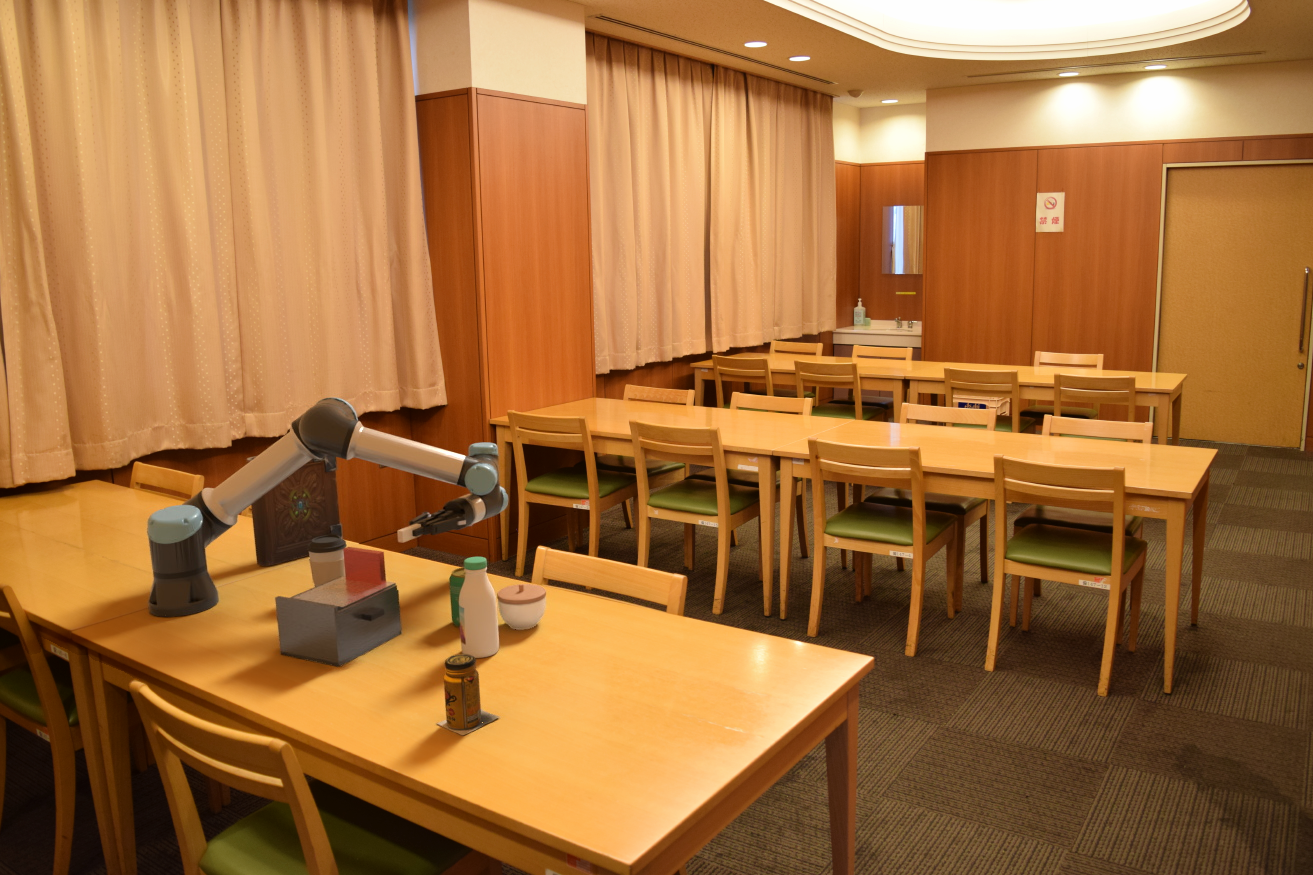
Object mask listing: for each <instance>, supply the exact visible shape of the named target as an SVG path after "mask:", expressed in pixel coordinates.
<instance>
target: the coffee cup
mask: <svg viewBox="0 0 1313 875" xmlns="http://www.w3.org/2000/svg"><path fill="white" fill-rule="evenodd" d="M346 547H348V546H347V541H346V540H345V539H344V538H343V539H341V537H340V536H338V535H337V534H328V535H326V536H320V537H316V538H314V539H312V541H311V543H309V544H308V549H307V550H308V551H309V555H308V557H309V566H310V571H311V572H310V573H311V577H312V583H313V585H314V587H316V586H319V585H321V584H323V583H326V582H328V581H331V580H333V579H335V578H338V577H340V576H341V577H343V576H345V564H344V552H343V549H344V548H346Z"/></svg>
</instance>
